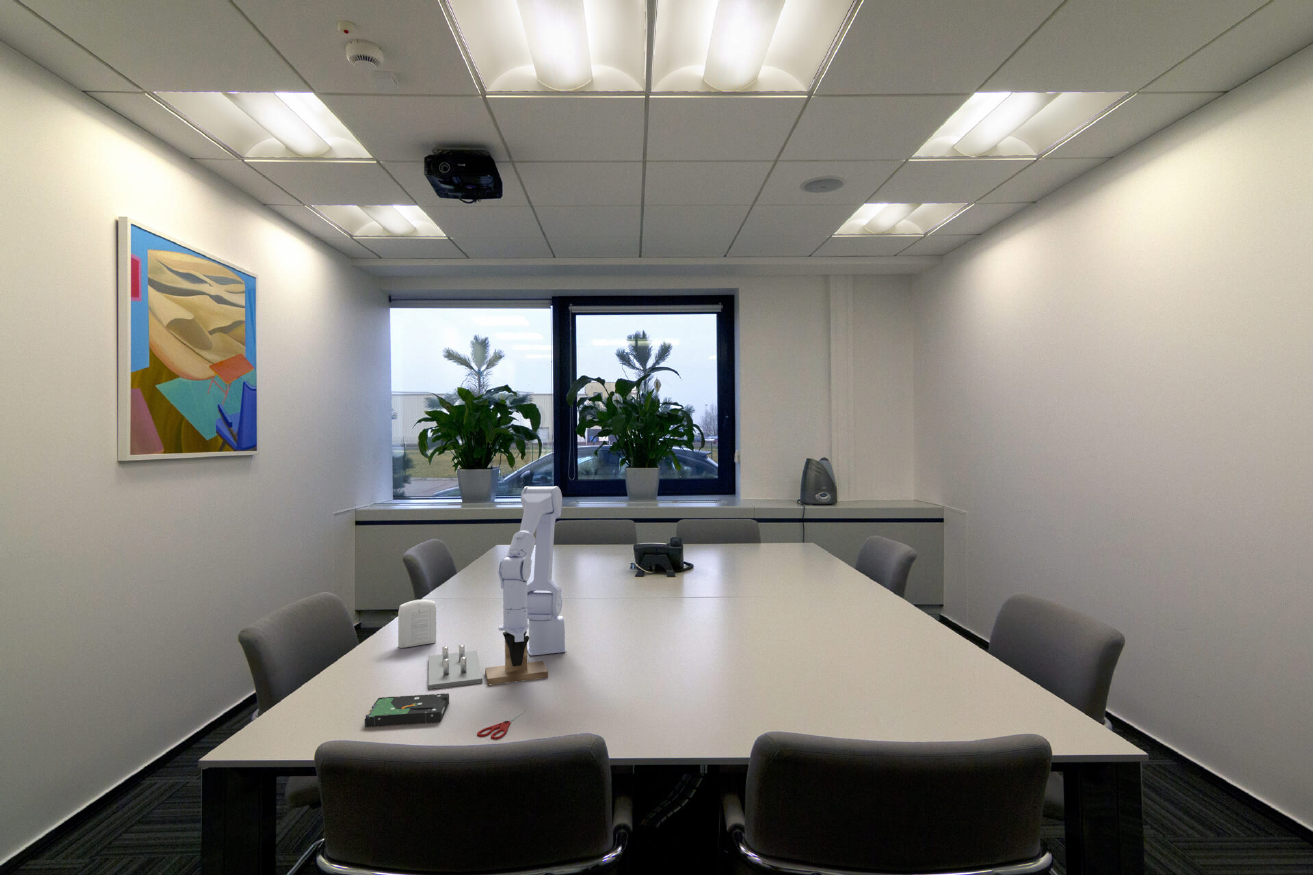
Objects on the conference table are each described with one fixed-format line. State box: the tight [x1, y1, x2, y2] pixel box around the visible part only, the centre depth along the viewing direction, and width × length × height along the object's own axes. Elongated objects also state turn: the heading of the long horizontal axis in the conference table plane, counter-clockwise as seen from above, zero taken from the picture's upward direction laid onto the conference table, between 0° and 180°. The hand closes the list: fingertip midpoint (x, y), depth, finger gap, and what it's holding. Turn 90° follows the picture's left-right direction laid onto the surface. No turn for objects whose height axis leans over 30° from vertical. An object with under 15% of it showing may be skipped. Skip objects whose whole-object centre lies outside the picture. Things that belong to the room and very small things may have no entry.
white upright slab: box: [397, 599, 437, 649], centre depth 188 cm, size 10×4×12 cm, turn 123°
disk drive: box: [364, 692, 450, 728], centre depth 140 cm, size 10×3×15 cm
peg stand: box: [428, 644, 484, 690], centre depth 166 cm, size 12×22×4 cm, turn 19°
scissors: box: [476, 709, 527, 741], centre depth 135 cm, size 5×14×1 cm, turn 158°
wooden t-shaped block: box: [484, 640, 549, 686], centre depth 162 cm, size 14×8×8 cm, turn 108°
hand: (516, 663), depth 162 cm, fingers closed on wooden t-shaped block, 2 cm apart
